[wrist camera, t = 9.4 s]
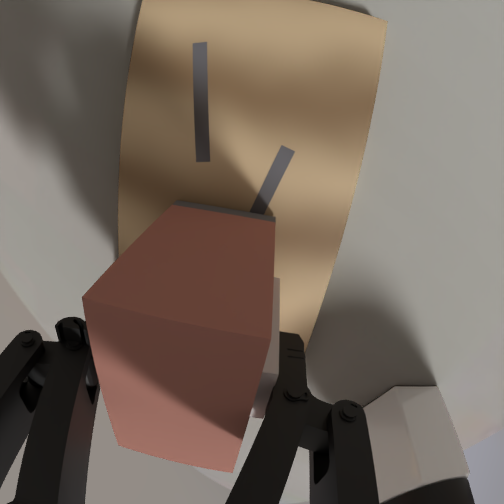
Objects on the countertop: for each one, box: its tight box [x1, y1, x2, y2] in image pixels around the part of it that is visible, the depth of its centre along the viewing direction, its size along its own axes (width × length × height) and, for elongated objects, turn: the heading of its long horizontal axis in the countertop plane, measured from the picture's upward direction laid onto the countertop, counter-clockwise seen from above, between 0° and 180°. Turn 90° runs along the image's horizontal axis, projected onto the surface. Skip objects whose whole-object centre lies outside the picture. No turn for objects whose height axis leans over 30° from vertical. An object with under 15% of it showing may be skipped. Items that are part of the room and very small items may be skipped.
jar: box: [363, 386, 475, 504], centre depth 18 cm, size 9×8×12 cm
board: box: [118, 0, 388, 353], centre depth 16 cm, size 22×12×1 cm, turn 171°
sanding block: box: [82, 200, 276, 473], centre depth 13 cm, size 8×5×9 cm, turn 171°
